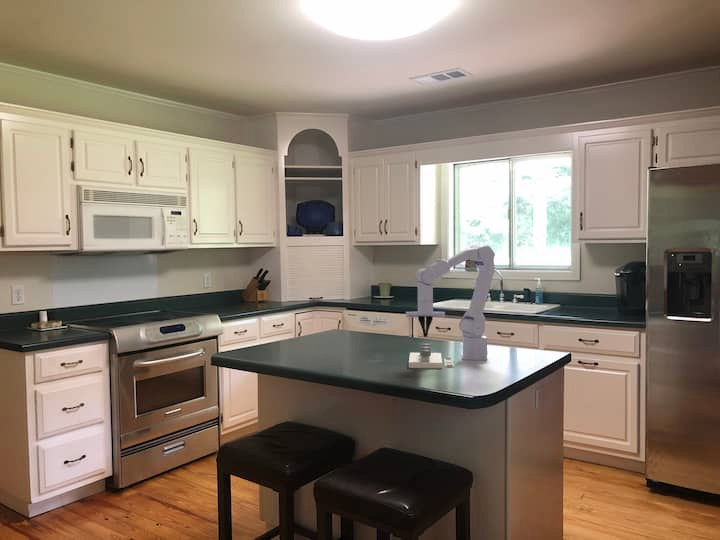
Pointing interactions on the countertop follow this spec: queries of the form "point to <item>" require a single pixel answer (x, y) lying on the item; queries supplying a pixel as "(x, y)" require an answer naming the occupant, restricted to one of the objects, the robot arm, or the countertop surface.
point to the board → (416, 362)
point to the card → (448, 362)
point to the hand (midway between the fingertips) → (425, 336)
